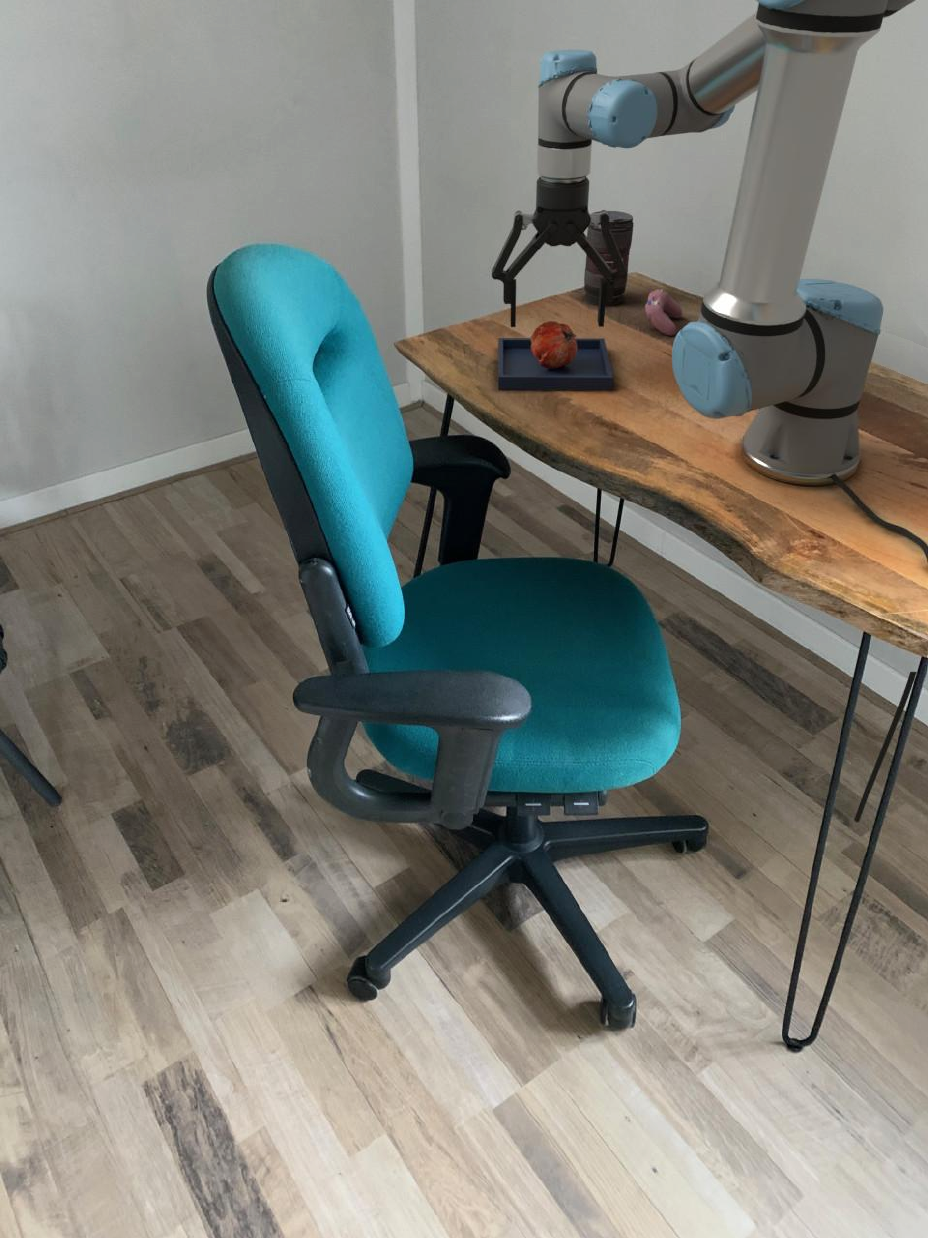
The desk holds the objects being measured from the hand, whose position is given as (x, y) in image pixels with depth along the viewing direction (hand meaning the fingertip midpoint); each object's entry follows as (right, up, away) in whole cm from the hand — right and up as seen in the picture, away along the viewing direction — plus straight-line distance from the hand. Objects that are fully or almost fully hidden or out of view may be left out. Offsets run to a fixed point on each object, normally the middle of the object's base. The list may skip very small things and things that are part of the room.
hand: (556, 323), depth 148 cm
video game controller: (+20, +6, +20) cm, 29 cm away
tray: (0, -6, +5) cm, 8 cm away
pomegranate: (0, -5, +5) cm, 7 cm away
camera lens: (+12, +14, +30) cm, 35 cm away
